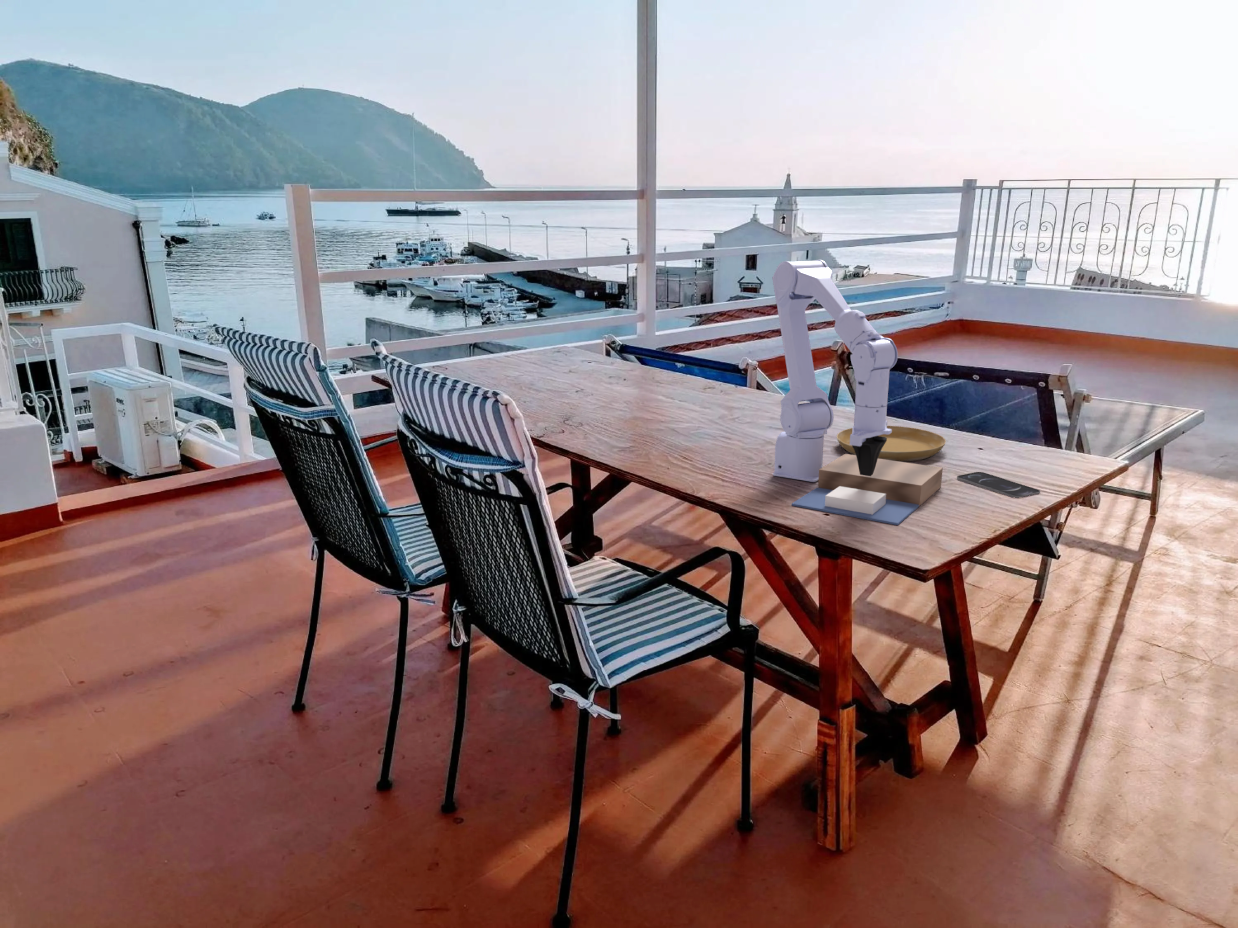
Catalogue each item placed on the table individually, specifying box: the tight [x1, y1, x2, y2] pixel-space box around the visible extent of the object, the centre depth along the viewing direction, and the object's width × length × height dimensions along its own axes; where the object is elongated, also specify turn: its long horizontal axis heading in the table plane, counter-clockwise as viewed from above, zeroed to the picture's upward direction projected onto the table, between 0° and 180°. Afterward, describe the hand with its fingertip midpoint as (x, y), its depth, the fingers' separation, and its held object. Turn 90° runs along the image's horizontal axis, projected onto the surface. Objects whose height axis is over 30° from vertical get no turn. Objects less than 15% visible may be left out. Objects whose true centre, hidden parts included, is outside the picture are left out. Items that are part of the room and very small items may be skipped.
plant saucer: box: [836, 425, 947, 462], centre depth 195 cm, size 24×24×3 cm
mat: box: [791, 486, 920, 526], centre depth 157 cm, size 20×12×1 cm, turn 54°
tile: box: [825, 486, 886, 515], centre depth 156 cm, size 9×7×2 cm
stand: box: [817, 453, 944, 507], centre depth 167 cm, size 20×14×4 cm
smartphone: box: [956, 471, 1041, 499], centre depth 167 cm, size 8×1×15 cm
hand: (866, 474), depth 160 cm, fingers closed
